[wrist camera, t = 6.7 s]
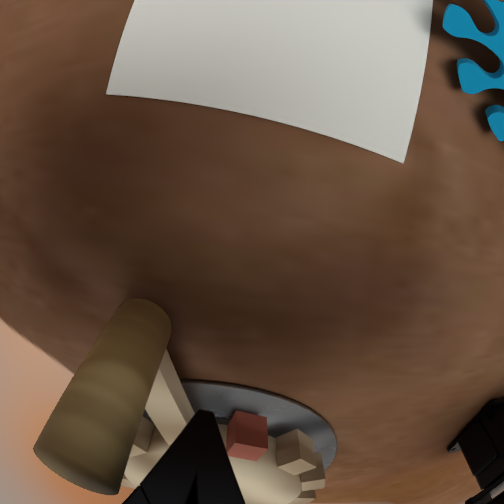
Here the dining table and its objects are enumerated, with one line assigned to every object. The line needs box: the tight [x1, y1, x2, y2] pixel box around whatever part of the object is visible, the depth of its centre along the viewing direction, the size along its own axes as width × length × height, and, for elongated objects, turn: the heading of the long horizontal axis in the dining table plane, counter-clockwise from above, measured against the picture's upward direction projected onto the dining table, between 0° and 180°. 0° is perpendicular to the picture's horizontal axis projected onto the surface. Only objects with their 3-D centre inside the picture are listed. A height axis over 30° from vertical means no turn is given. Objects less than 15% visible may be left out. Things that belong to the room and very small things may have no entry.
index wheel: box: [33, 298, 326, 504], centre depth 12 cm, size 14×18×7 cm
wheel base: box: [143, 380, 337, 471], centre depth 16 cm, size 16×16×1 cm
